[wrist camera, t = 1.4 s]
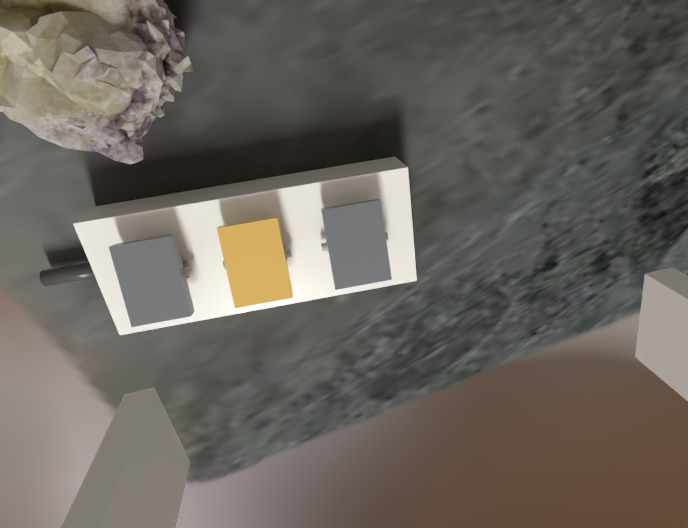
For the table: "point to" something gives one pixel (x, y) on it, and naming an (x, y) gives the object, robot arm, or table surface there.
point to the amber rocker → (255, 261)
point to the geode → (90, 70)
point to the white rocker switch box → (240, 206)
